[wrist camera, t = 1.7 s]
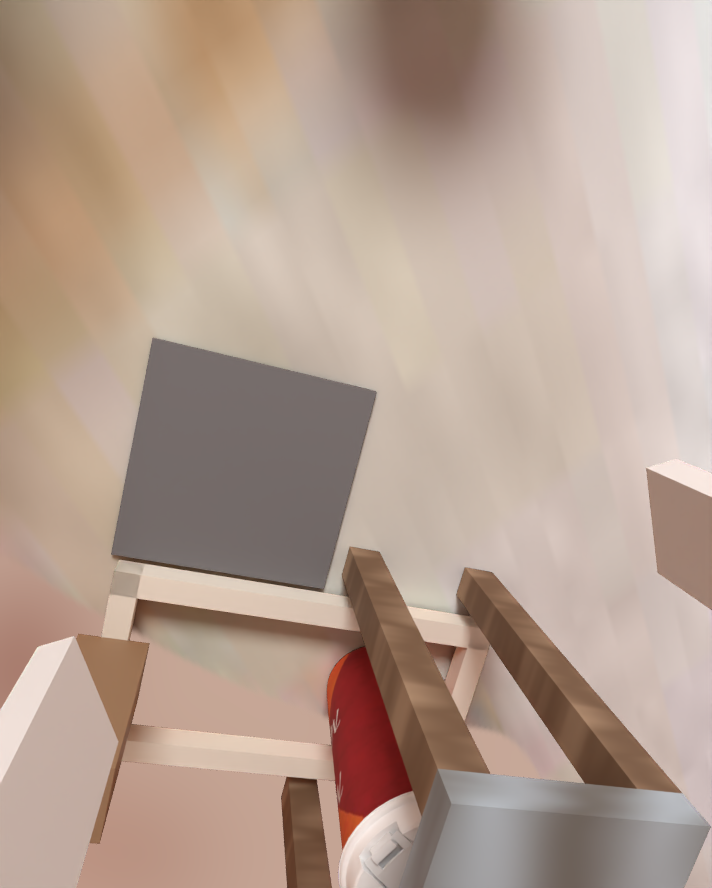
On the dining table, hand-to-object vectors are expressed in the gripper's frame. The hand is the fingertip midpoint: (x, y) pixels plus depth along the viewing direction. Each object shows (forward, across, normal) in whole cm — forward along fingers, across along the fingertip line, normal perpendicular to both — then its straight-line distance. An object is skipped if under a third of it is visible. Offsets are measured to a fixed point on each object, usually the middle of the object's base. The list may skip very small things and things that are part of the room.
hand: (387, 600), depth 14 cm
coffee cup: (+24, 0, -20) cm, 31 cm away
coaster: (+24, -4, -3) cm, 24 cm away
